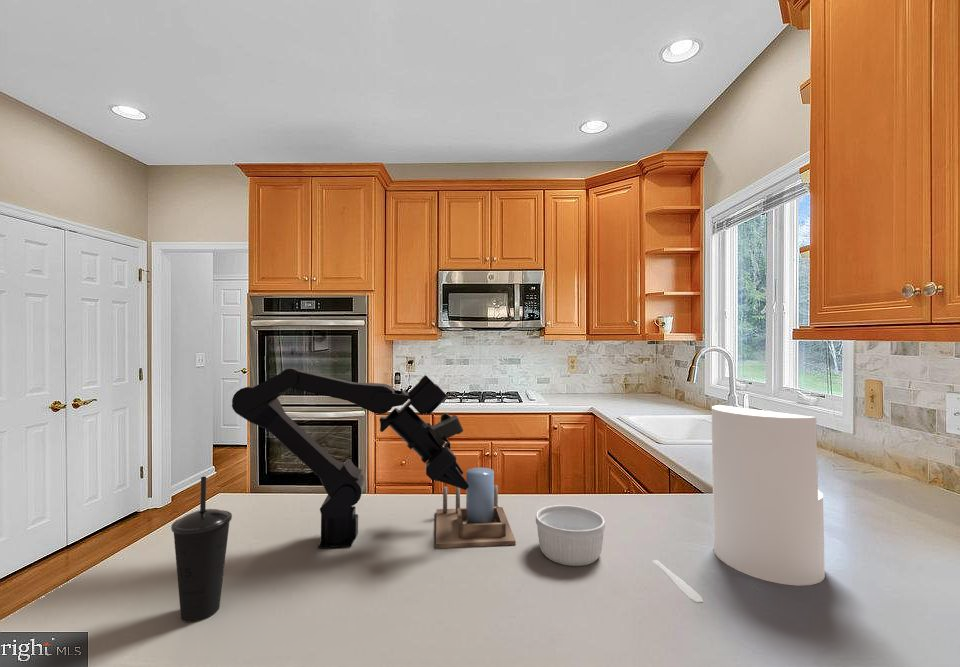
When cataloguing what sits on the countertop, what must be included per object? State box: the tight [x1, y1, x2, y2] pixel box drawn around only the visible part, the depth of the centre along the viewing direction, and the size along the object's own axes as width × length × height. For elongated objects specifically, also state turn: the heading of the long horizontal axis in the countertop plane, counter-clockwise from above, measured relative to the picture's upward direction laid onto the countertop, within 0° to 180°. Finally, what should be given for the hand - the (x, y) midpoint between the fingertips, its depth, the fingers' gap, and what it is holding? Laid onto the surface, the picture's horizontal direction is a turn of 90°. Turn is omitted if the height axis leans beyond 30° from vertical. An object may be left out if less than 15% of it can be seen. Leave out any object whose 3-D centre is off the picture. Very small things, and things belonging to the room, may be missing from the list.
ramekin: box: [535, 504, 606, 567], centre depth 82 cm, size 13×13×7 cm
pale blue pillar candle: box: [465, 467, 495, 524], centre depth 91 cm, size 6×6×12 cm
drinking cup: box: [170, 476, 233, 623], centre depth 63 cm, size 8×8×20 cm
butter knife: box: [651, 559, 704, 604], centre depth 79 cm, size 1×27×3 cm
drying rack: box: [435, 484, 517, 549], centre depth 93 cm, size 16×18×7 cm
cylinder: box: [711, 404, 826, 587], centre depth 80 cm, size 17×17×28 cm
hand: (464, 480), depth 91 cm, fingers open, 9 cm apart
